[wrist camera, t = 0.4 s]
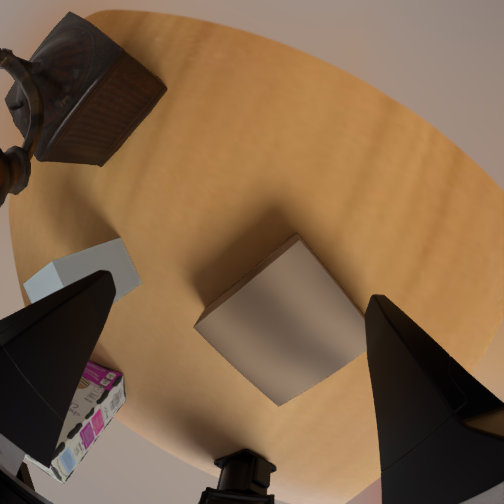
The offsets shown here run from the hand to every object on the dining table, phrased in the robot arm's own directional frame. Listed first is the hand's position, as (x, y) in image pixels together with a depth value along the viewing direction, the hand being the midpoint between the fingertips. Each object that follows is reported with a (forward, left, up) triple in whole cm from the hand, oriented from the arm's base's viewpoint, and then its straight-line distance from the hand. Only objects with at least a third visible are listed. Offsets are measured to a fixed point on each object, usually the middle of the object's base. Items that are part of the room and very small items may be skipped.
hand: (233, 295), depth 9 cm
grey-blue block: (-14, +7, -16) cm, 22 cm away
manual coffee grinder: (-3, +18, -16) cm, 24 cm away
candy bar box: (-29, +1, -16) cm, 33 cm away
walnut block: (-3, -7, -16) cm, 18 cm away
